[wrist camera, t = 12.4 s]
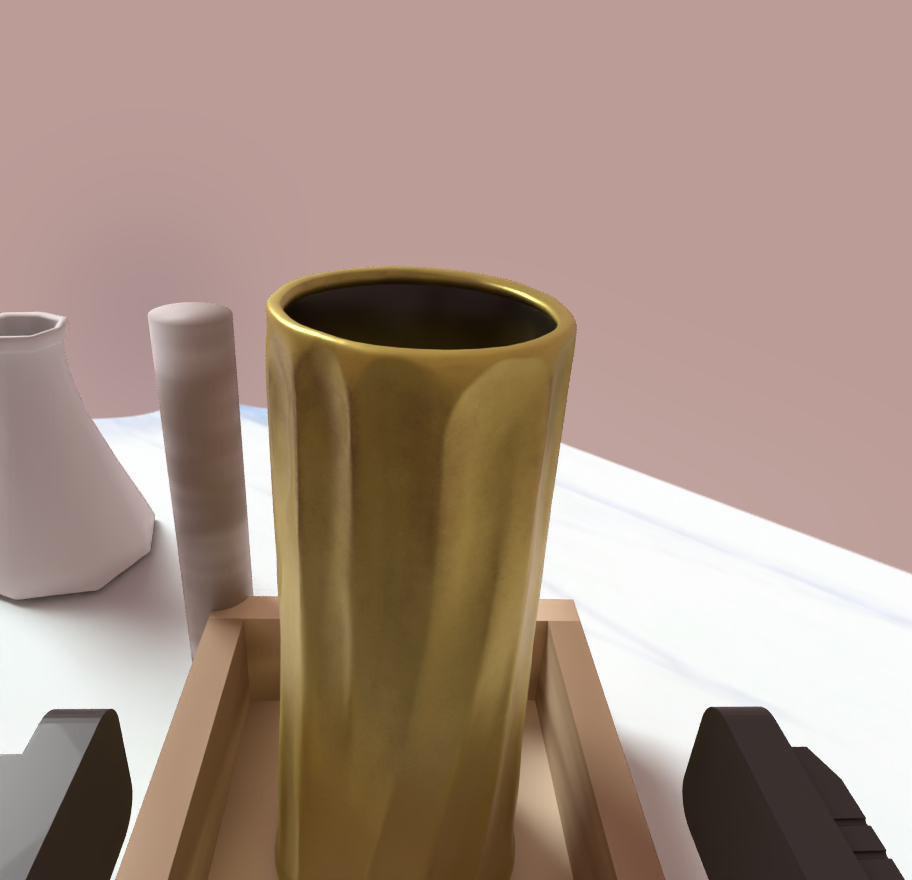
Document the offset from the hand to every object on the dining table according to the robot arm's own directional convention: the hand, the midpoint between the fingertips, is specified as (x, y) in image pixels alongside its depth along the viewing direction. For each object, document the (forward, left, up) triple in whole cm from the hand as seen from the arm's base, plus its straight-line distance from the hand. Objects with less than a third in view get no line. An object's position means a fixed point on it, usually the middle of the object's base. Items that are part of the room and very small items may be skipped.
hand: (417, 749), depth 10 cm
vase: (0, +5, -10) cm, 11 cm away
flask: (-14, +19, -11) cm, 26 cm away
